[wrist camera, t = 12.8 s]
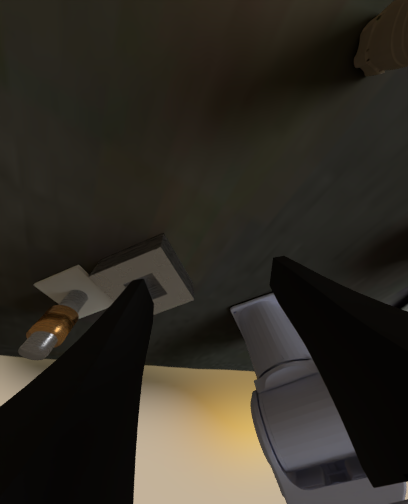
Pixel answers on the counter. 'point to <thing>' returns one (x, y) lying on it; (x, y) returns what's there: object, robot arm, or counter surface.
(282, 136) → the counter surface
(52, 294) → the mat
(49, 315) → the amber medicine bottle
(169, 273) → the block
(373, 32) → the handle
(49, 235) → the counter surface
